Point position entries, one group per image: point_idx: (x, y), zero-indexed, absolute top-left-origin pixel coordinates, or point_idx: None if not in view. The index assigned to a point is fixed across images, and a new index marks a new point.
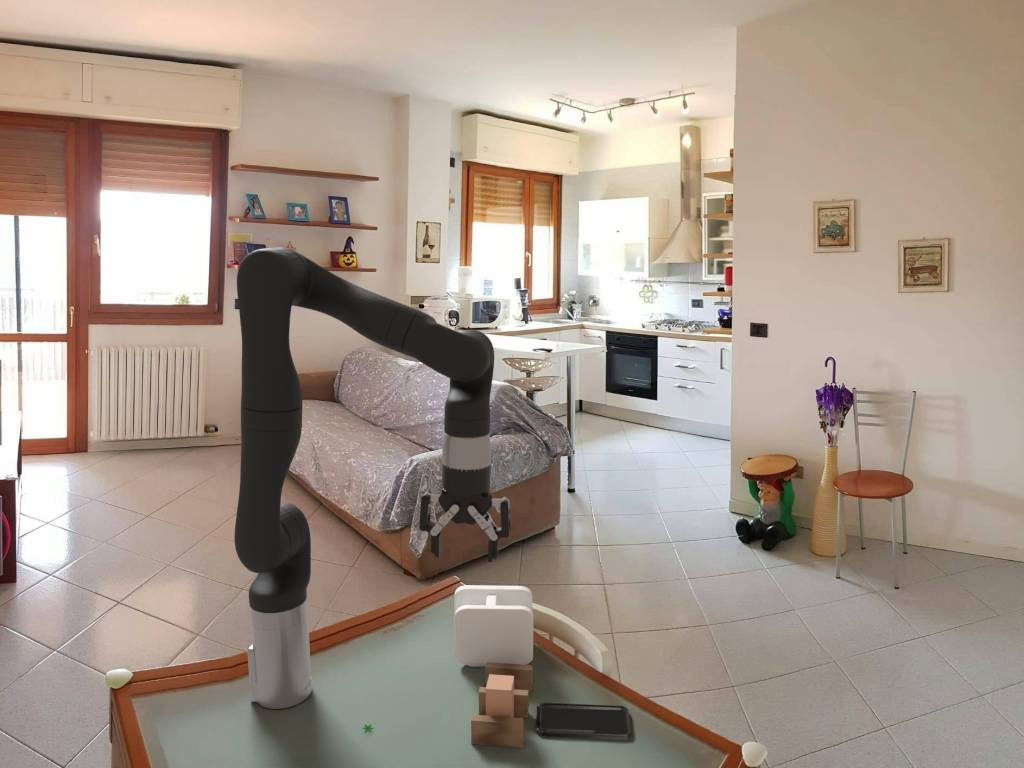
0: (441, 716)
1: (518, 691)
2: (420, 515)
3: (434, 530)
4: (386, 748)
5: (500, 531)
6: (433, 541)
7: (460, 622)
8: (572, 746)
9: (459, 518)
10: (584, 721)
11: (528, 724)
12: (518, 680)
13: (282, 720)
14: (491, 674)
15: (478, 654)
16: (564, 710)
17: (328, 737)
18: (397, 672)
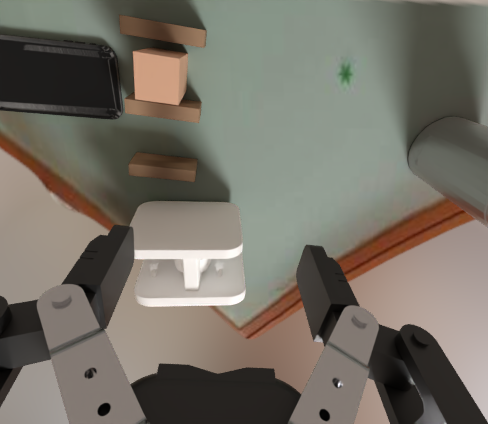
0: (250, 98)
1: (140, 109)
2: (477, 408)
3: (362, 328)
4: (323, 24)
5: (12, 331)
6: (343, 291)
7: (233, 235)
8: (55, 17)
9: (247, 401)
10: (45, 74)
11: (130, 76)
12: (151, 159)
13: (448, 94)
14: (174, 104)
15: (209, 208)
16: (80, 101)
17: (397, 54)
18: (306, 190)
